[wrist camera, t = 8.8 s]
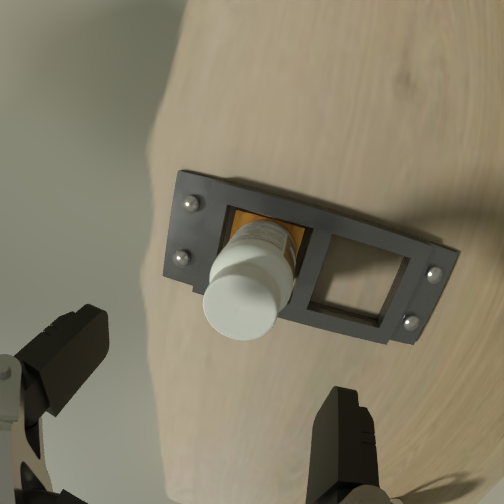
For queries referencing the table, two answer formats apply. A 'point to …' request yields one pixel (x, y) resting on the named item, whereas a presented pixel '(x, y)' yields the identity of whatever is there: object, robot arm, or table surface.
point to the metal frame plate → (323, 226)
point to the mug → (396, 501)
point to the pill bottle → (251, 281)
